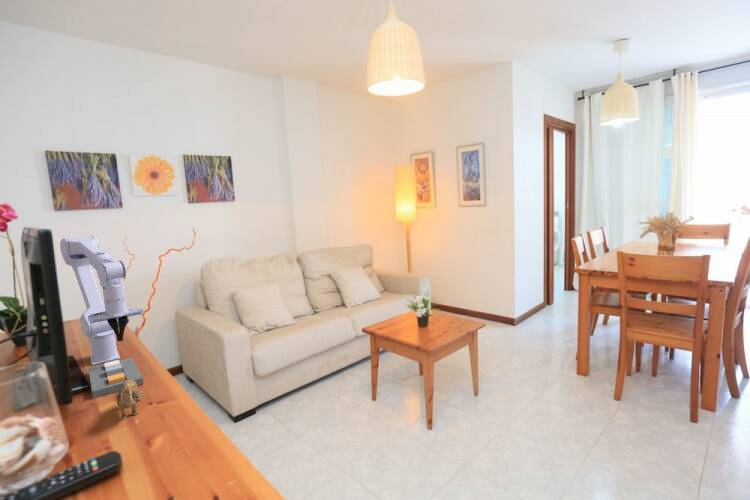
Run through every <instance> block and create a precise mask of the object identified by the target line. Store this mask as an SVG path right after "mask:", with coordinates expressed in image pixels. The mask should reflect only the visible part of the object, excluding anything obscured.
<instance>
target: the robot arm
mask: <svg viewBox="0 0 750 500" xmlns="http://www.w3.org/2000/svg"><path fill="white" fill-rule="evenodd" d="M59 246H60V247H59V248H60V253H61V256H62V258H63V262H64V263H65V265H66V266H67V265H68V266H70V267H71V268H72V270H73V272H74V274H75V277H76V280H77V284H78V285H79V289H80V293H81V295H82V298H83V301H84V304H85V307H86V310H85V311H84V312H83V313H82V314H81V315H80V318H79V320H80V327H81V332H82V334H83V335H84V336H85V337H87V338H89V344H90V352H91V356H90V358H89V359H90V363H91V366H96V365H98V364H102V363H103V364H104V363H107V362H111V361H115V360H120V359H121V356H120V353H119V352H118V349H117V342H122V341H124V334H125V330H126V326H127V324H128V322H129V318H130V317H132V316H133V317H134V316H139V315H144V308H143V307H138V308H129V309H128V306H127V299H126V298H127V297H126V290H125V282H124V278H126V275H127V270H126V266H125V263H124V261H122V259H121V260H120V259H119V260H115V259H114V258H113V257H111V256H110V254H108V253H107V252H105V250H101V249H100V243H99V240H98V238H97V237H96V236H94V235H91V236H80V237H69V238H67V237H64V238H63V237H62V238H61V240H60V242H59ZM92 268H94V270H95V271H96V274H97V278H98V281H99V285H100V287H102V288H101V289H102V294H103V299H102V296H101V293H100V290H99V288H98V285H97V281H96V279H95V276H94V273H93V270H92ZM103 301H104V302H103ZM128 317H129V318H128Z"/></svg>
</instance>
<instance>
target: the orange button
mask: <svg viewBox="0 0 750 500" xmlns="http://www.w3.org/2000/svg"><path fill="white" fill-rule="evenodd" d="M107 377H108V385H110V384H114V383H118V382H121V381H125V380H126V379H125V375H124V372H123V373H119V374H115V375H111V376H107Z"/></svg>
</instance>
